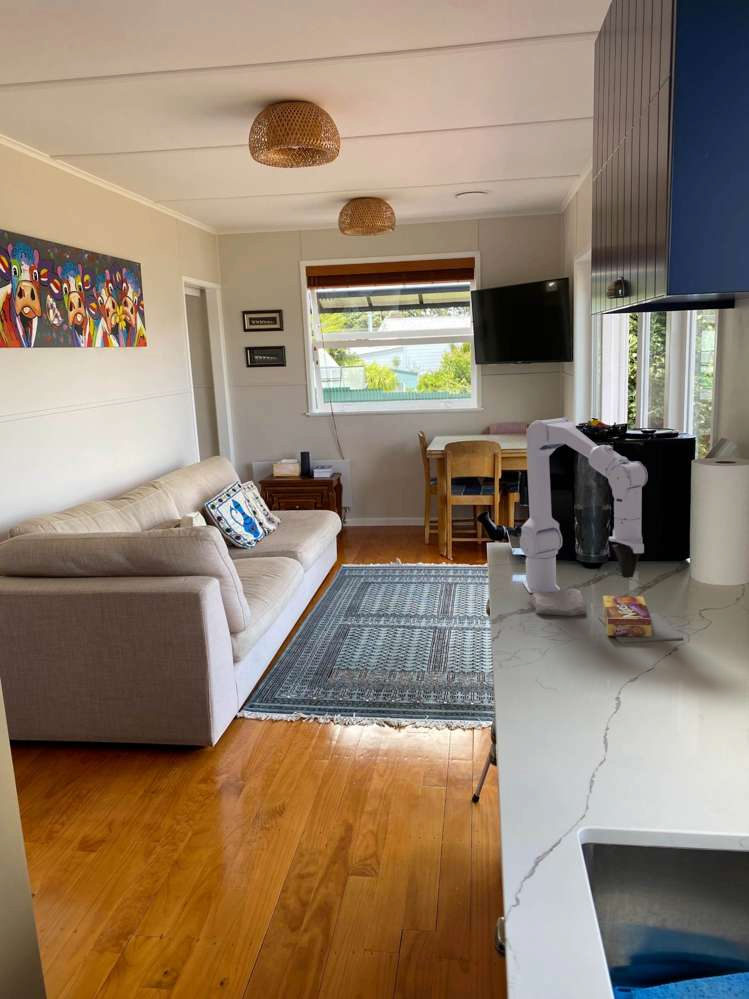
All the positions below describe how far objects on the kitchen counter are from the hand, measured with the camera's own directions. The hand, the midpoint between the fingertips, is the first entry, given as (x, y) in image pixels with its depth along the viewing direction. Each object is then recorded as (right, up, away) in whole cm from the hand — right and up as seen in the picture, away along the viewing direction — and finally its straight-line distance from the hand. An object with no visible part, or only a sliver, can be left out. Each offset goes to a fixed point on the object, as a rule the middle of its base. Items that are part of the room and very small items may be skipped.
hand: (627, 576), depth 166 cm
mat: (+1, -11, -6) cm, 12 cm away
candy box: (0, -7, +3) cm, 7 cm away
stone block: (-13, -9, +9) cm, 18 cm away
